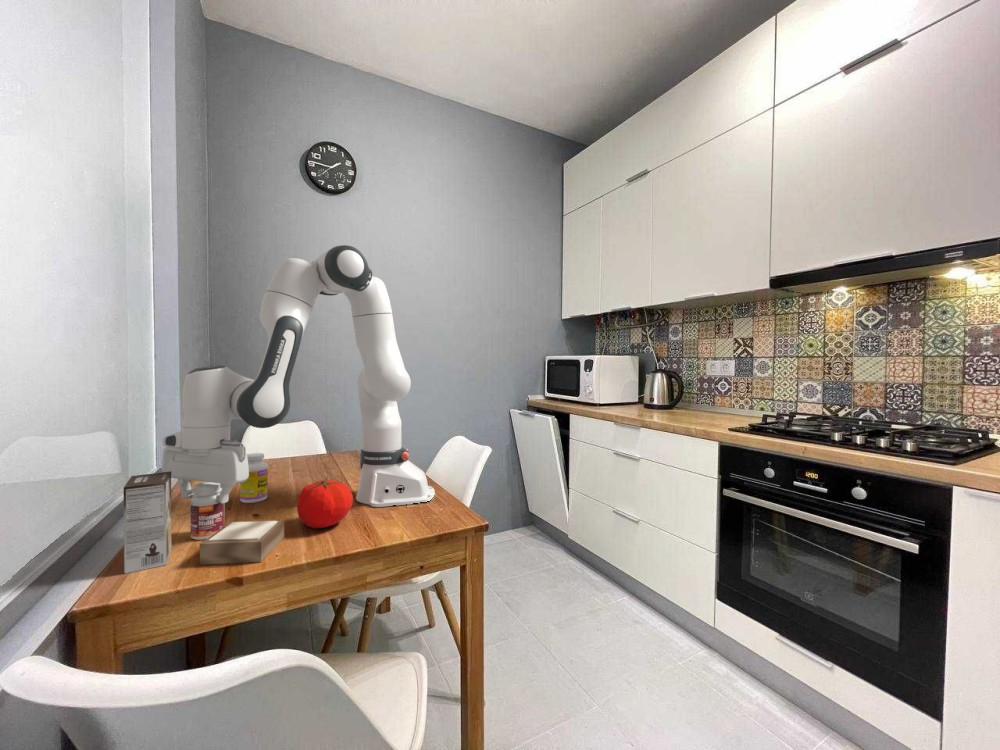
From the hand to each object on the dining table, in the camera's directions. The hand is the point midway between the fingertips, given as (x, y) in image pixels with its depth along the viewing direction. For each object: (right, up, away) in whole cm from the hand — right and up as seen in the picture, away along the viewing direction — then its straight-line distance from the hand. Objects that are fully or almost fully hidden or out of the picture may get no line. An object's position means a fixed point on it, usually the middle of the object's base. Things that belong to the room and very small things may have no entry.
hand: (205, 500), depth 91 cm
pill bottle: (0, -8, 0) cm, 8 cm away
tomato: (+24, -8, +7) cm, 26 cm away
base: (+13, -8, -7) cm, 17 cm away
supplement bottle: (-4, -8, +24) cm, 25 cm away
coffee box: (-2, -8, -12) cm, 14 cm away
